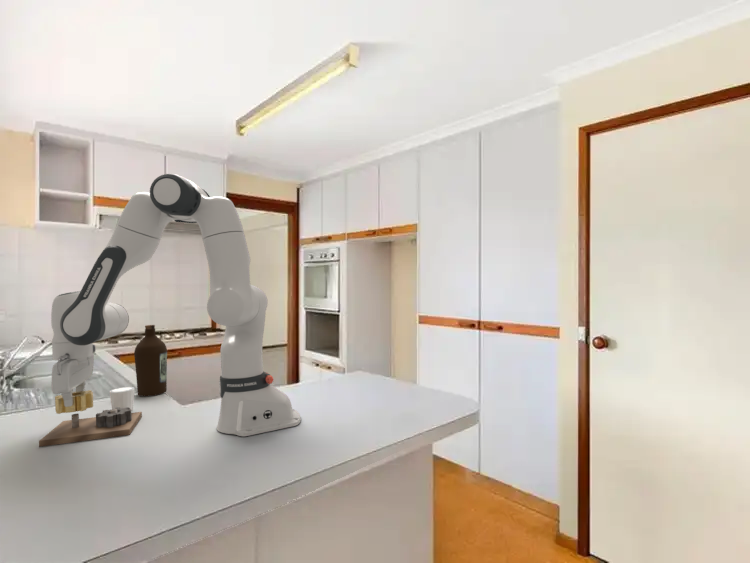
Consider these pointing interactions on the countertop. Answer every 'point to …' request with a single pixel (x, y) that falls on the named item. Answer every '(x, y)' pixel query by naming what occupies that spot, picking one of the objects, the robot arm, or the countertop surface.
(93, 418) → the gear board
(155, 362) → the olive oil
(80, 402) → the brass gear
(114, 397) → the white short cylinder
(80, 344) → the robot arm
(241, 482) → the countertop surface
